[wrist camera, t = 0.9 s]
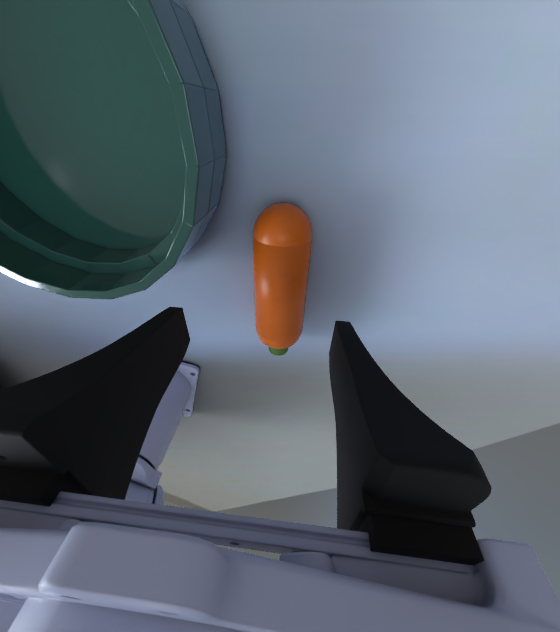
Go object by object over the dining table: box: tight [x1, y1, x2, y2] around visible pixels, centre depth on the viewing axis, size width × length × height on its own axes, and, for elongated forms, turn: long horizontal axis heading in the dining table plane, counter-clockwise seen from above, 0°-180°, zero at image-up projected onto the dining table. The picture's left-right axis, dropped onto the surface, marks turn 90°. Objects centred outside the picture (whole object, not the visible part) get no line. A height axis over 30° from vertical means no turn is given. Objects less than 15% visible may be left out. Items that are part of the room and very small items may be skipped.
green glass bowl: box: [0, 0, 226, 299], centre depth 13 cm, size 17×17×5 cm
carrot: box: [253, 203, 312, 356], centre depth 19 cm, size 12×4×4 cm, turn 178°
